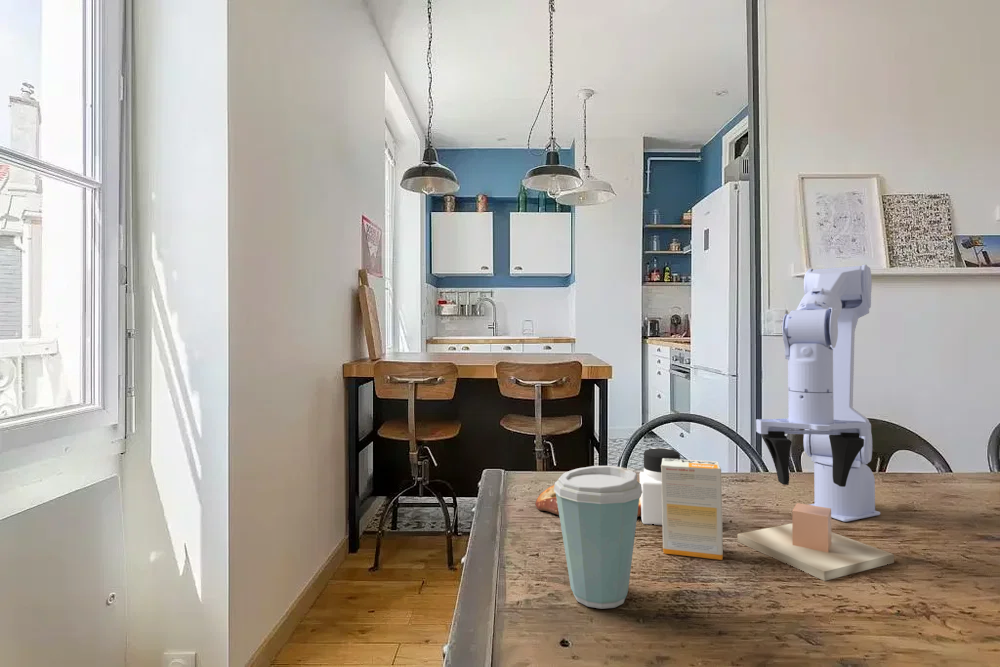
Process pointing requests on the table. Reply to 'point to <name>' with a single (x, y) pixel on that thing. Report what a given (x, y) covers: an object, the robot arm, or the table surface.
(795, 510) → the salmon pink cube
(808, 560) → the post board
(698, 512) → the supplement box
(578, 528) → the disposable coffee cup
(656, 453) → the medicine bottle
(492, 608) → the table surface
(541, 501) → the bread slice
